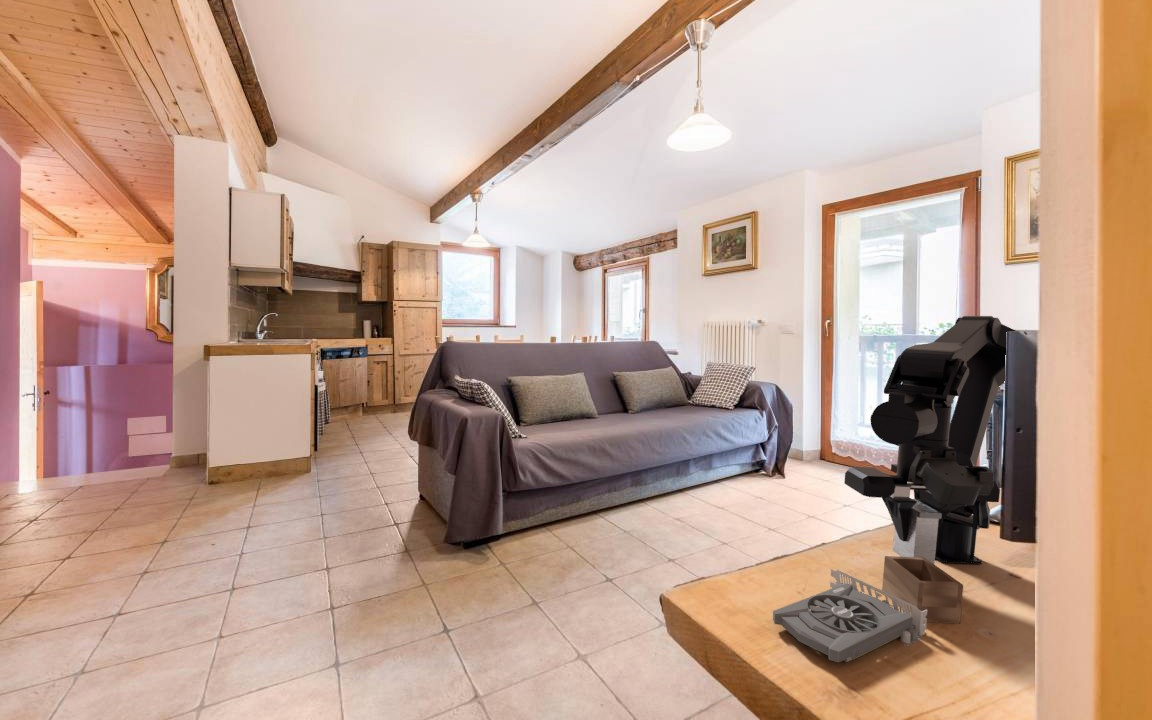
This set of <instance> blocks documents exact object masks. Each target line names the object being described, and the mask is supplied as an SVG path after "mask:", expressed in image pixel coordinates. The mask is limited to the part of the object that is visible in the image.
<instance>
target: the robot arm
mask: <svg viewBox="0 0 1152 720" xmlns="http://www.w3.org/2000/svg"><path fill="white" fill-rule="evenodd" d="M954 323H955V324H954V325H952V326H951V327H950V328H949V329H948V330H946V331H945V332H943V334H941V335H940V336H939V337H937V338H936V339H934V341H932V342H930V343H921V344H915V345H912V346H909V347H907V348H905V349H903V351H902V352H901V353H900V355H898V356H897V357H896V360H895V363H894V365H893V367H892V370H891V371H890V373H889V376H888V379H887V382H886V384H885V386H884V389H883V394H885V395H888V400H887V401H885V402H882V403H880V404H879V405H877V406H876V407H875V409H873V411H872V414H870V418H869V419H870V420H869V421H870V426H871V429H872V431H873V433H874V434H875V435H876V436H877V437H878V438H879V439H880V440H882V442H885V443H888V444H890V445H895V446H896V447H898V449H897V450H898V451H897V463H896V464H891V466H890V472H892V473H895V475H894V474H892V475H891V474H887V473H884V472H883V471H881V470H879V469H877V468H875V467H870V466H868V467H866V466H849V468H848V469H847V470H846V471H845V473H844V484H845V485H846V486H848V487H849V488H851V489H852V490H854V491H855V492H857V493H859V494H860V495H862V496H864V497H868V498H878V499H879V498H881V499H882V501H883V503H884V505H885V507H886V508H887V511H888V514H889V516H890V518H891V521H892V524H893V526H894V530H895V529H896V531H897V534H898V537H899V539H901V540H902V541H907V536H908V531H909V518H910V509H911V508H912V507H913V506H914V505H915V504H916V503H917V501H915V500H913V499H916V500H918V501H920V502H922V503H924V504H926V505H927V506H929V507H931V508H933V509H935V510H937V511H938V512H940V513H942V518H941V519H939V520H938V531H937V542H936V553H935V560H938V561H939V562H942V563H953V564H955V563H956V564H975V565H978V564H979V565H982V564H983V559H981V558H979V557H977V556H976V555H975V553H976V552H975V551H976V543H977V542H976V540H977V531H978V530H980V529H987V530H989V528H990V521H991V509H990V506H989V503H999V502H1000V496H1001V489H1000V486H999V485H998V484H997V482H996V480H994V479H995V478H994V475H995V473H994V471H993V470H991V469H990V468H988V466H985V465H983V466H982V465H977V463H978V459H979V456H980V452H981V448H982V444H983V443H984V438H985V435H986V431H987V427H988V424H989V421H990V417H991V414H992V410H993V406H994V403H995V400H996V396H997V392H998V389H999V387H1000V386H1003V384H1005V383H1004V381H1005V355H1006V332H1007V331H1017V330H1016V329H1014V328H1011V327H1009V326H1007V325H1005V324H1002V322H1001V320H1000V318H999V317H994V316H992V315H964V316H959V317H957V319H956V321H955V322H954ZM956 397H957V401H956V403H955V407H954V410H953V412H952V408H953V407H952V405H953V404H954V399H955V398H956ZM952 413H953V414H952ZM911 490H912V491H913V497H914V498H911V497H910V495H911Z"/></svg>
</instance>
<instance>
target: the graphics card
mask: <svg viewBox="0 0 1152 720" xmlns="http://www.w3.org/2000/svg"><path fill="white" fill-rule="evenodd" d="M830 577H832V578H834V579H835V581H836V582H833V581H832V580H830V581H829V584H830V585H829V586H830V588H829V589H827V590H824V591H822V592H819V593H816V594H815V595H814V594H813V595H811V596H808V597H806V598H803V599H801V600H798V601H795V602H793V603H791V604H788V605H784V606H782V607H780V608H776V609H774V610H773V611H772V621H773V624H774V625H779V626H782V627H783V628H784V630H786V631H787V632H788V633H789V634H790V635H792V636H793V637H794V638H795V639H796V640H797V641H798V642H799V643H802V644H804V645H806V646H807V647H810V648H812V649H814V650H816V651H818V652H819V653H822V654H824V655H826V656H828V661H831V662H836V663H841V662H842V661H845V662H846V663H847V662H848V663H849V661H852V660H855V659H857V658H860V657H861V656H864V655H865V654H867V653H869V652H871V651H873V650H876V649H877V648H880V647H882V646H883V645H885V644H888V643H890V642H891V641H893V640H895V639H898V638H899V640H900V641H901V642H903V643H904V645H903V646H904V648H907V647H908V646H910V645H912V644H914V643H917V642H918V641H920V640H923V637H922V636H924V635H925V634H926V635H927V632H926V629H927V623H928V622H927V618H925V617H926V615H927V609H926V610H924V611H920V610H919V609H918V608H917V607H916V606H914V605H912V604H910V603H907V602H905V601H903V600H901V599H899V598H897V597H895V596H893V595H891V594H889V593H886V592H884V591H882V589H880V588H879V587H877V586H874V585H872V584H869V583H867V582H865V581H864V580H861V579H859V578H857V577H854V576H852V575H850V574H848V573H846V572H844V571H842V570H840V569H836V570H834V569H832V568H831V569H830ZM857 583H858V585H859V587H860V590H861V591H859V590H858V586H857ZM864 586H865V587H866V590H867V592H868V594H866V593H865V589H864ZM831 587H832V588H831ZM872 590H873V591H874V594H875V596H873V594H872ZM882 595H883V596H884V597H885V599H882V600H881V599H880V598H879V597H882ZM888 598H889V599H890V600H891V603H892V604H891V603H890V601H889V599H888ZM897 601H898V602H899V606H898V602H897ZM901 602H902V607H903V609H902V608H901ZM904 604H905V608H906V612H905V611H904ZM907 605H908V608H909V612H908V611H907ZM910 607H911V608H912V614H913V618H912V616H911V611H910Z"/></svg>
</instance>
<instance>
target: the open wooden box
mask: <svg viewBox="0 0 1152 720" xmlns="http://www.w3.org/2000/svg"><path fill="white" fill-rule="evenodd" d="M882 573H883V574H882V585H881V587H882V588H881V590H882V591H884V592H886V593H889V594H891V595H893V596H895V597H897V598H899V599H901V600H903V601H905V602H907V603H910V604H912V605H914V606H916V607H917V608H918V609H919V610H920V611H924V610H926V609H927V615H926V617H925V618H927V622H926V623H942V624H944V623H945V624H960V623H961V614H962V603H963V595H964V594H963V593H964V583H961V582H960V581H958V580H957V579H955V577H952V575H950V574H949V573H947V572H946V571H944V570H943V569H941V568H940V567H938V566H937V565H935V563H934V564H933V563H931V562H930V561H929V560H927V559H926V558H919V557H900V556H895V555H893V556H889V555H884V561H883V572H882ZM897 602H898V601H897ZM898 607H899V602H898ZM901 610H903V607H902V602H901ZM904 611H905V612H906V608H905V604H904ZM907 611H908V612H909V608H908V605H907ZM910 611H911V616H912V618H913V614H912V608H911V607H910Z"/></svg>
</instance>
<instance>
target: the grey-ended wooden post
mask: <svg viewBox="0 0 1152 720" xmlns="http://www.w3.org/2000/svg"><path fill="white" fill-rule="evenodd" d="M912 499H913V500H915V501H917V503H916V504H915V505H914V506H913V507H912V508H911V509H910V518H909V531H908V536H907V541H902V540H901V539H899V537H898V534H897V531H896V529H895V528H894V532H893V533H894V535H893V544H892V551H893V552H894V553H895V554H897V555H898V557H919V558H926V559H927V560H929V561H930V562H931V563H933V564H934V565H935V562H936V558H935V553H936V542H937V531H938V520H939V519H941V518H942V513H940V512H938V511H937V510H935V509H933V508H931V507H929V506H927V505H926V504H924V503H922V502H920V501H918V500H916V499H914V498H912Z"/></svg>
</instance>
